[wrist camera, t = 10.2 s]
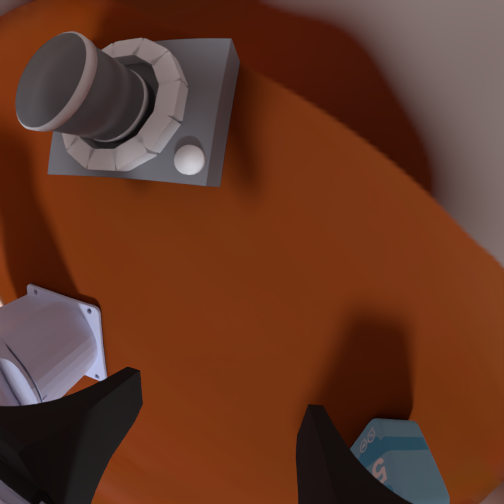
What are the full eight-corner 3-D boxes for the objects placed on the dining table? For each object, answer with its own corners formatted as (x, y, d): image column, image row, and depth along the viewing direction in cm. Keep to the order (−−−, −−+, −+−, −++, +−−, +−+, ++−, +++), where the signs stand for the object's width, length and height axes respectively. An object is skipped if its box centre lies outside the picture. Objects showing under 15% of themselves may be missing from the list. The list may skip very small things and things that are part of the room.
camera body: (77, 174, 20) (34, 174, 15) (96, 69, 18) (60, 50, 13) (219, 186, 19) (198, 185, 14) (240, 62, 17) (226, 27, 12)
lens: (90, 148, 16) (8, 138, 9) (98, 82, 15) (26, 49, 8) (153, 141, 15) (76, 118, 8) (160, 69, 14) (97, 17, 7)
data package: (375, 410, 21) (409, 519, 10) (414, 413, 21) (455, 508, 9) (322, 481, 24) (327, 568, 12) (357, 482, 24) (369, 564, 12)
